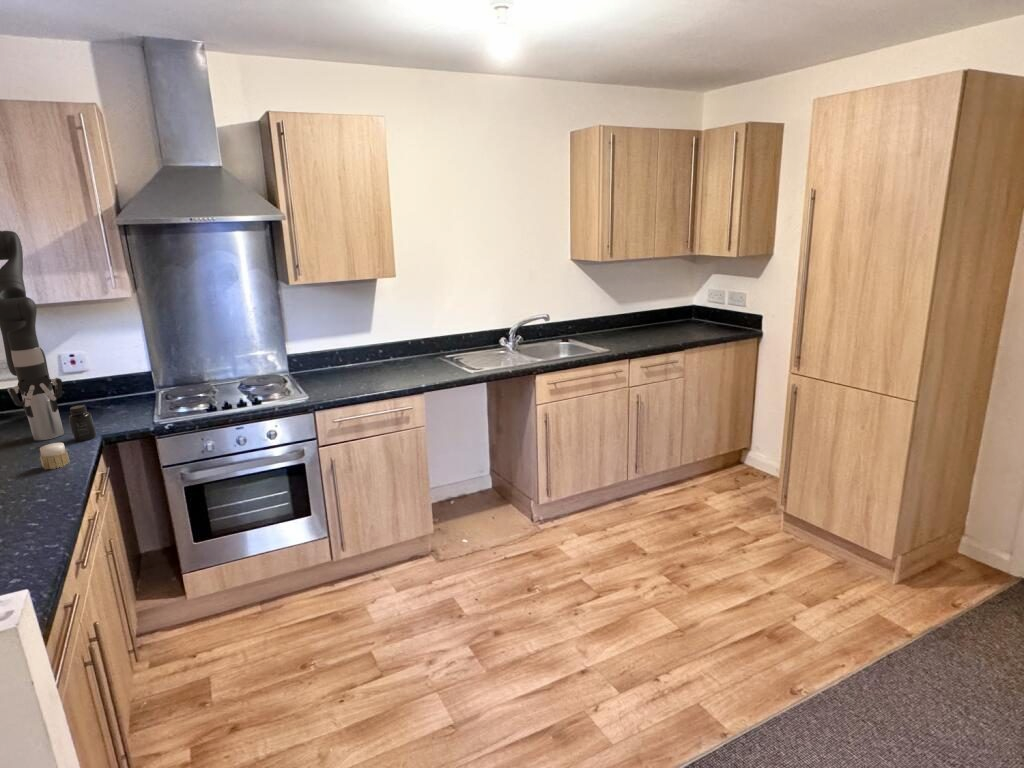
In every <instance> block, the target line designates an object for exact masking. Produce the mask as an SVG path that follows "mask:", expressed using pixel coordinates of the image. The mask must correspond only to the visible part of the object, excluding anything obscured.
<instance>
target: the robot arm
mask: <svg viewBox="0 0 1024 768" xmlns="http://www.w3.org/2000/svg"><path fill="white" fill-rule="evenodd" d="M23 252H24V251H23V246H22V241H21V239H20V236H19V235H18V234H17V232H15V231H12V230H0V261H3V260H4V261H6V262H5V263H4V264H3V265H2V266H0V332H1V336H2V342H3V348H4V353H5V359H6V363H7V364H6V365H7V367H8V370H9V372H10V373H11V375H13V376H14V377H17V378H16V379H17V382H18V383H17V385H15V386H13V387H7V389H6V390H7V393H8V394H9V396H10V398H11V400H12V401H13V403H14V405H15V406H17V407H23V410H24V413H25V415H26V417H27V420H28V423H29V427H30V431H31V434H32V437H33V438H32V439H33V441H46V440H52V439H54V438H58V437H60V436H63V435H64V434H65V431H64V427H63V424H62V419H61V416H60V412H59V406H58V405H59V404H58V402H57V400H58V399H59V398H62V397H63V380H62V379H61V378H59V377H55V378H50V373H49V368H48V364H47V363H48V362H47V358H46V354H45V351H44V350H43V349H42V348H41V347H40V344H39V340H38V335H37V331H36V322H37V319H36V318H37V310H38V308H37V304H36V303H35V301H34V300H33V299H32V298H30V297H28V296H27V293H26V287H25V283H24V275H23V274H24V272H23V270H24V258H23ZM53 386H54V389H53ZM19 392H20V394H21V399H22V401H21V400H20V398H19V396H18V393H19Z"/></svg>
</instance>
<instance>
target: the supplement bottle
mask: <svg viewBox="0 0 1024 768" xmlns="http://www.w3.org/2000/svg"><path fill="white" fill-rule="evenodd" d="M87 410H88V409H87V406H86V405H84V404H83V405H82V404H80V405H75V406H71V407H70V408H69V412H70V413H69V414H71V415H69V417H68V422H69V425H70V429H71V433H72V436H73V440H74V441H75V442H85V441H84V440H86V441H89V439H90V440H92V439H95V438H96V437H97V432H96V429H95V427H96V426H95V424H94V420H93V417H92V413H90V412H89V411H87Z"/></svg>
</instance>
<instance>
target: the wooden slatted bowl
mask: <svg viewBox="0 0 1024 768" xmlns="http://www.w3.org/2000/svg"><path fill="white" fill-rule="evenodd" d="M65 450H66V452H65V453H63V454H61V455H58V456H54V457H42V456H41V455H40V456H39V459H40V462H41V466H42V469H43V468H44V469H43V470H46V469H51V470H55V469H56V468H57V469H60V468H63V467H65V465H66V464H68V463H69V462H70V463H71V461H70V457H69V454H68V450H67V449H65ZM70 463H69V464H70ZM69 464H68V465H69ZM66 466H67V465H66ZM59 467H60V468H59Z"/></svg>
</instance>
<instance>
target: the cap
mask: <svg viewBox="0 0 1024 768" xmlns="http://www.w3.org/2000/svg"><path fill="white" fill-rule="evenodd" d="M66 450H67V449H66V447H65V444H64V442H53V443H49V444H46V445H43V446H40V448H39V452H40V456H42V457H54V456H58V455H61V454H63V453H65V452H66Z"/></svg>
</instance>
